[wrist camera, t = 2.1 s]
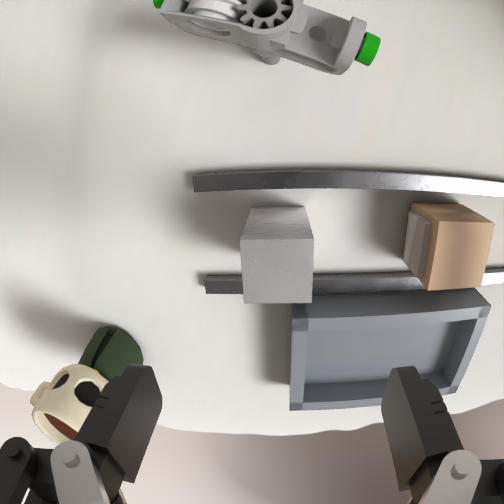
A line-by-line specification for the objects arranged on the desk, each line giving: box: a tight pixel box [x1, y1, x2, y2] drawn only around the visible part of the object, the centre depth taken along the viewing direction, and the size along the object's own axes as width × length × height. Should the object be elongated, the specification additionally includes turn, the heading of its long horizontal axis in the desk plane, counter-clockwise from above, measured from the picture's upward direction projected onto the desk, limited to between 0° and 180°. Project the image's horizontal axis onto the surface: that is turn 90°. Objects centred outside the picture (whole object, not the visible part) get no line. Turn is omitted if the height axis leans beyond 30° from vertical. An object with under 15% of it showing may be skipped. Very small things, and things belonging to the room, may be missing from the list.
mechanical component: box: [153, 0, 380, 75], centre depth 14 cm, size 3×10×10 cm, turn 71°
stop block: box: [240, 207, 314, 303], centre depth 21 cm, size 4×4×7 cm
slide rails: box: [193, 170, 504, 294], centre depth 23 cm, size 30×10×1 cm, turn 92°
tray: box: [290, 287, 491, 411], centre depth 26 cm, size 18×11×4 cm, turn 92°
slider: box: [403, 202, 494, 291], centre depth 20 cm, size 6×5×5 cm
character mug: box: [30, 327, 143, 445], centre depth 25 cm, size 11×7×13 cm, turn 84°
